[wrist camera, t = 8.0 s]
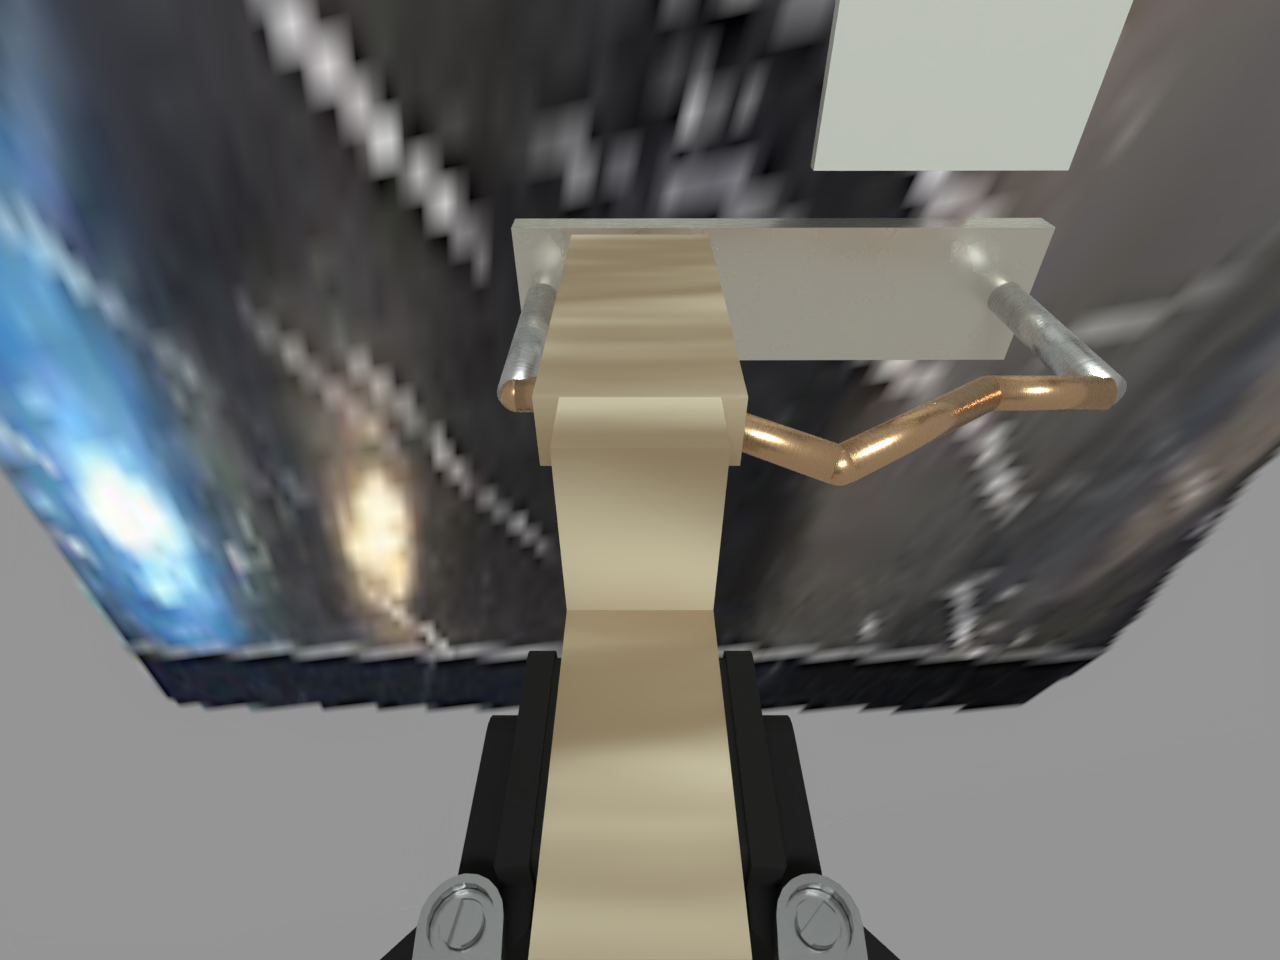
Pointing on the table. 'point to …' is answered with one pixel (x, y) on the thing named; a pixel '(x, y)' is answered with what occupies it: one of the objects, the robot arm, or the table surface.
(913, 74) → the pad
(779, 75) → the table surface
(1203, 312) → the table surface
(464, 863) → the robot arm
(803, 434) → the wire
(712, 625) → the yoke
